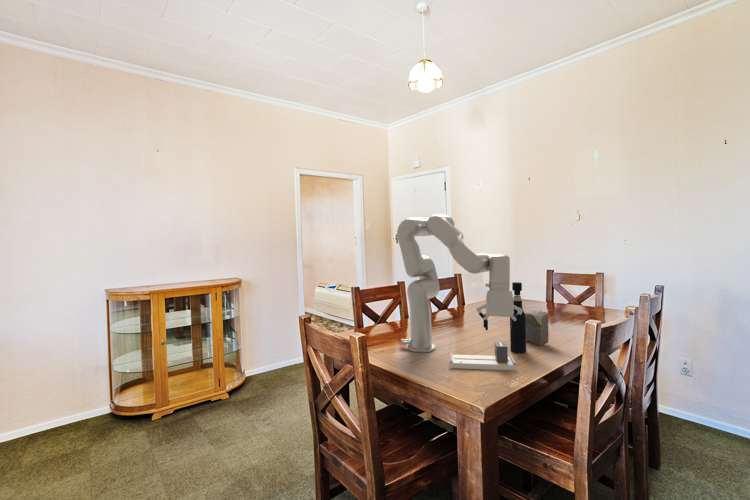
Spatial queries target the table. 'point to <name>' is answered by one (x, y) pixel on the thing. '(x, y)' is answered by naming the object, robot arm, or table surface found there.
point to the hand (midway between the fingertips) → (499, 329)
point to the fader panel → (481, 362)
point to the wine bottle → (518, 323)
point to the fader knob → (501, 352)
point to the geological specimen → (537, 326)
